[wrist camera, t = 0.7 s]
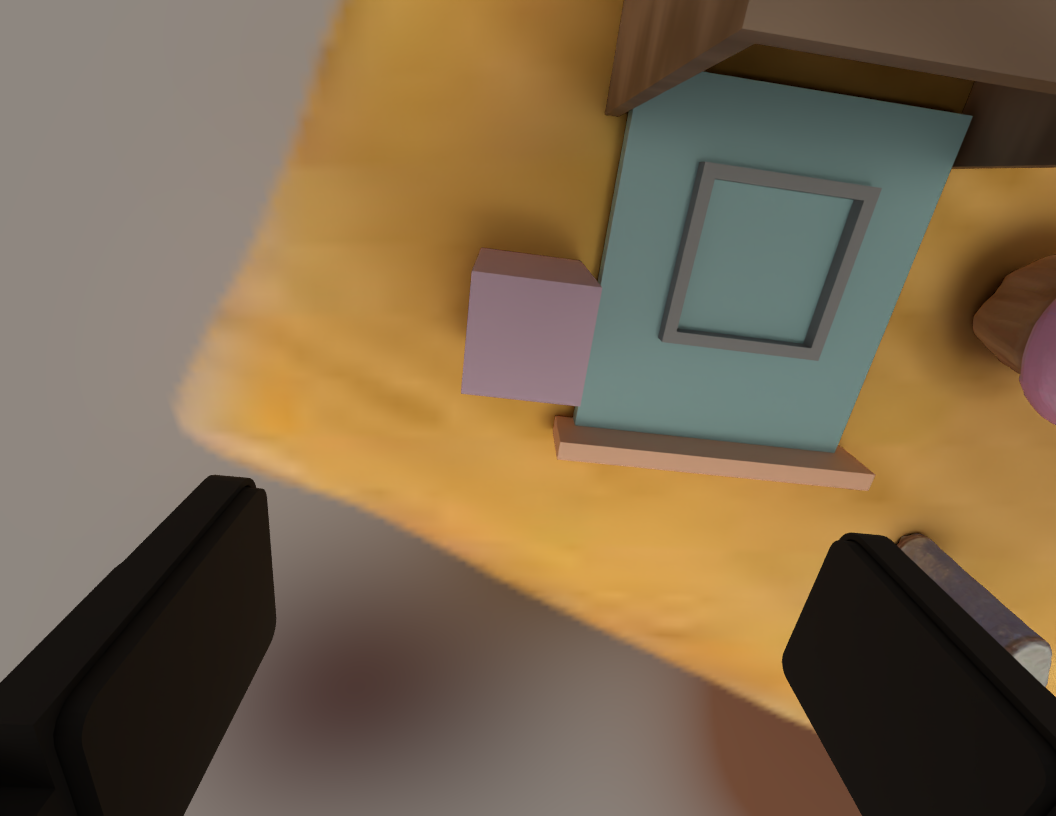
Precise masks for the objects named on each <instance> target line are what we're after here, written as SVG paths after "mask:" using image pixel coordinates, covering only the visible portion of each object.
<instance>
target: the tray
mask: <svg viewBox="0 0 1056 816" xmlns="http://www.w3.org/2000/svg"><path fill="white" fill-rule="evenodd" d="M972 117H973V116H971V115H964V114H958V113H952V112H946V111H940V110H934V109H928V108H922V107H916V106H910V105H904V104H897V103H891V102H885V101H879V100H873V99H867V98H861V97H855V96H849V95H843V94H837V93H830V92H824V91H818V90H812V89H806V88H800V87H794V86H788V85H782V84H776V83H770V82H763V81H757V80H751V79H745V78H739V77H733V76H727V75H721V74H715V73H709V72H701V73H699V74H697V75H695V76H693V77H691V78H690V79H688V80H686V81H684V82H682V83H680V84H678V85H677V86H675V87H673V88H671V89H669V90H667V91H665V92H663V93H662V94H660V95H658V96H656V97H654V98H652V99H650V100H648V101H647V102H645V103H643V104H641V105H639V106H637V107H635V108H633V109H632V110H630V111H629V112H628V118H627V123H626V129H625V134H624V140H623V145H622V151H621V156H620V162H619V167H618V173H617V178H616V184H615V189H614V195H613V200H612V206H611V211H610V217H609V222H608V228H607V233H606V239H605V244H604V250H603V255H602V261H601V266H600V272H599V277H598V283H599V284H600V285H601V287H602V292H601V298H600V303H599V308H598V314H597V319H596V325H595V330H594V335H593V341H592V346H591V351H590V357H589V362H588V367H587V373H586V378H585V384H584V389H583V394H582V400H581V405H580V406H575V409H574V414H573V418H572V417H562V416H555V421H554V427H553V436H554V443H555V449H556V455H557V459H560V460H569V461H579V462H589V463H599V464H609V465H619V466H629V467H639V468H648V469H658V470H668V471H678V472H688V473H698V474H708V475H718V476H727V477H737V478H747V479H757V480H767V481H777V482H787V483H797V484H806V485H816V486H826V487H836V488H846V489H856V490H866V491H868V490H869V488H870V486H871V484H872V481H873V479H874V477H875V474H874V473H873V472H871V471H870V470H869V469H868V468H867V467H865V466H864V465H863V464H862V463H860V462H859V461H858V460H857V459H856V458H854V457H853V456H852V455H851V454H850V453H848V452H847V451H846V450H845V449H843V448H842V447H840V446H838V444H839V441H840V439H841V436H842V434H843V431H844V429H845V427H846V424H847V422H848V419H849V417H850V414H851V412H852V409H853V407H854V405H855V402H856V400H857V397H858V395H859V392H860V390H861V388H862V385H863V383H864V380H865V378H866V375H867V373H868V371H869V368H870V366H871V363H872V361H873V358H874V356H875V353H876V351H877V349H878V346H879V344H880V341H881V339H882V336H883V334H884V332H885V329H886V327H887V324H888V322H889V319H890V317H891V315H892V312H893V310H894V307H895V305H896V302H897V300H898V297H899V295H900V293H901V290H902V288H903V285H904V283H905V280H906V278H907V276H908V273H909V271H910V268H911V266H912V263H913V261H914V259H915V256H916V254H917V251H918V249H919V246H920V244H921V241H922V239H923V237H924V234H925V232H926V229H927V227H928V224H929V222H930V220H931V217H932V215H933V212H934V210H935V207H936V205H937V203H938V200H939V198H940V195H941V193H942V190H943V188H944V186H945V183H946V181H947V178H948V176H949V173H950V171H951V168H952V166H953V164H954V161H955V159H956V156H957V154H958V151H959V149H960V147H961V144H962V142H963V139H964V137H965V134H966V132H967V130H968V127H969V125H970V122H971V120H972Z"/></svg>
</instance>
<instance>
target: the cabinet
mask: <svg viewBox="0 0 1056 816" xmlns="http://www.w3.org/2000/svg"><path fill="white" fill-rule="evenodd" d="M753 44H761V45H767V46H773V47H778V48H784V49H790V50H796V51H802V52H808V53H814V54H820V55H826V56H831V57H837V58H843V59H849V60H855V61H861V62H867V63H873V64H878V65H884V66H890V67H896V68H902V69H908V70H914V71H920V72H926V73H931V74H937V75H943V76H949V77H955V78H961V79H967V80H973V81H975V83H974V85H973V88H972V90H971V93H970V95H969V98H968V100H967V103H966V105H965V108H964V110H963V113H962V114H964V115H971V116H973V117H972V120H971V122H970V125H969V127H968V130H967V132H966V134H965V137H964V139H963V142H962V144H961V147H960V149H959V151H958V154H957V156H956V159H955V161H954V164H953V166H952V168H951V169H970V168H1051V167H1056V0H624V3H623V9H622V15H621V21H620V27H619V33H618V39H617V45H616V51H615V57H614V63H613V69H612V75H611V81H610V87H609V93H608V99H607V105H606V111H605V115H609V116H615V117H619V116H620V115H622V114H624V113H626V112H628V111H630V110H632V109H633V108H635V107H637V106H639V105H641V104H643V103H645V102H647V101H648V100H650V99H652V98H654V97H656V96H658V95H660V94H662V93H663V92H665V91H667V90H669V89H671V88H673V87H675V86H677V85H678V84H680V83H682V82H684V81H686V80H688V79H690V78H691V77H693V76H695V75H697V74H699V73H701V72H703V71H705V70H706V69H708V68H710V67H712V66H714V65H716V64H718V63H720V62H721V61H723V60H725V59H727V58H729V57H731V56H733V55H735V54H736V53H738V52H740V51H742V50H744V49H746V48H748V47H750V46H751V45H753Z"/></svg>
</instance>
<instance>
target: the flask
mask: <svg viewBox="0 0 1056 816" xmlns="http://www.w3.org/2000/svg"><path fill="white" fill-rule="evenodd" d="M918 535H921V534H917V533H916V534H914V535H913V534H912V535H911V536H910V535H909V536H902V537H901V539H900V542H899V543H898V544H897V546H898V547H899V548H900V549H901V550H902V551H903V552H904V553H905V554H906V555H907V556H908V557H909V558H910V559H911V560H913V561H914V562H915V563H916V564H917V565H918V566H919V567H920V568H921V569H922V570H923V571H924V572H925V573H926V574H927V575H928V576H929V577H930V578H931V579H932V580H933V581H935V582H936V583H937V584H938V585H939V586H940V587H941V588H942V589H943V590H944V591H945V592H946V593H947V594H948V595H949V596H950V597H951V598H952V599H953V600H954V601H955V602H956V603H958V604H959V605H960V606H961V607H962V608H963V609H964V610H965V611H966V612H967V613H968V614H969V615H970V616H971V617H972V618H973V619H974V620H975V621H976V622H977V623H978V624H980V625H981V626H982V627H983V628H984V629H985V630H986V631H987V632H988V633H989V634H990V635H991V636H992V637H993V638H994V639H995V640H996V641H997V642H998V643H999V644H1000V645H1001V646H1003V647H1004V648H1005V649H1006V650H1007V651H1008V652H1009V653H1010V654H1011V655H1012V656H1013V657H1014V658H1015V659H1016V660H1017V661H1018V662H1019V663H1020V664H1021V665H1022V666H1023V667H1025V668H1026V669H1027V670H1028V671H1029V672H1030V673H1031V674H1032V675H1033V676H1034V677H1035V678H1036V679H1037V680H1038V681H1039V682H1040V683H1041V684H1042V685H1043V686H1044V687H1046V685H1047V683H1048V675H1049V669H1050V666H1051V656H1052V651H1051V647H1050V645H1049V643H1047V642H1046V641H1045V640H1044V639H1043V638H1042V637H1040V636H1039V635H1038V634H1037V633H1035V632H1034V631H1033V630H1032V629H1030V628H1029V627H1028V626H1027V625H1026V624H1025V623H1024V622H1023V621H1022V620H1020V619H1019V618H1018V617H1017V616H1016V615H1015V614H1014V613H1012V612H1011V611H1010V610H1009V609H1008V608H1006V607H1005V606H1004V605H1003V604H1002V603H1001V602H1000V601H999V600H998V599H996V598H995V597H994V596H993V595H992V594H991V593H990V592H989V591H988V590H986V589H985V588H984V587H983V586H982V585H981V584H980V583H978V582H977V581H976V580H975V579H974V578H972V577H971V576H970V575H969V574H968V573H967V572H966V571H964V570H963V569H962V568H961V567H960V566H959V565H958V564H957V563H956V562H955V561H954V560H953V559H952V558H951V557H949V556H948V555H947V554H946V553H945V552H944V551H942V550H941V549H940V548H939V547H938V546H937V545H936V544H935V543H934V542H933V541H932V540H931V539H929V538H928V537H926V536H924V535H921V536H918ZM923 536H924V537H923Z"/></svg>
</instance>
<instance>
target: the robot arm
mask: <svg viewBox="0 0 1056 816" xmlns="http://www.w3.org/2000/svg"><path fill="white" fill-rule="evenodd" d="M273 583H274V582H273V570H272V556H271V544H270V531H269V518H268V506H267V496H266V492H265V490H264V489H259V488H256V485H255V483H254V481H253V480H252V479H251V478H244V477H233V476H220V475H210V476H208V477H207V478H206V479H205V480H204V481H203V482H202V483H201V484H200V485H199V486H198V487H197V488H196V489H195V490H194V491H193V492H192V493H191V494H190V495H189V496H188V497H187V498H186V499H185V500H184V501H183V502H182V503H181V504H180V505H179V506H178V507H177V508H176V509H175V510H174V511H173V512H172V513H171V514H170V515H169V516H168V517H167V518H166V519H165V520H164V521H163V522H162V523H161V524H160V525H159V526H158V527H157V528H156V529H155V530H154V531H153V532H152V533H151V534H150V535H149V536H148V537H147V538H146V539H145V540H144V541H143V542H142V543H141V544H140V545H139V546H138V547H137V548H136V549H135V550H134V551H133V552H132V553H131V554H130V555H129V556H128V557H127V559H125V560H124V561H123V562H122V563H121V564H119V565H118V566H117V567H116V568H114V569H113V570H112V571H111V572H110V573H109V574H108V575H107V577H105V578H104V579H103V580H102V581H101V582H100V583H99V584H98V585H97V587H95V588H94V590H92V592H90V593H89V594H88V595H87V597H85V598H84V599H83V600H82V601H81V602H80V603H79V604H78V605H77V606H76V607H75V608H74V609H73V611H71V612H70V613H69V614H68V615H67V616H66V617H65V618H64V619H63V620H62V621H61V622H60V623H59V624H58V625H57V626H56V628H55V629H54V630H53V631H51V632H50V633H49V634H48V635H47V636H46V637H45V638H44V640H43V641H42V642H41V643H39V644H38V646H36V647H35V648H34V650H33V651H31V652H30V653H29V654H28V655H27V656H26V657H25V659H24V660H23V661H22V662H21V663H20V664H19V665H18V666H17V667H16V668H15V669H14V670H13V671H12V672H11V673H10V674H9V675H8V676H7V677H6V678H5V679H4V680H3V681H2V682H1V683H0V816H184V814H185V812H186V809H187V808H188V806H189V804H190V802H191V800H192V798H193V796H194V794H195V792H196V790H197V788H198V786H199V784H200V782H201V780H202V778H203V776H204V774H205V772H206V770H207V768H208V766H209V764H210V762H211V760H212V758H213V756H214V754H215V752H216V750H217V748H218V746H219V744H220V742H221V740H222V738H223V736H224V734H225V733H226V731H227V729H228V727H229V725H230V723H231V721H232V719H233V716H234V715H235V713H236V711H237V709H238V707H239V705H240V703H241V700H242V699H243V697H244V695H245V693H246V691H247V689H248V687H249V685H250V683H251V681H252V679H253V677H254V675H255V673H256V671H257V669H258V667H259V665H260V663H261V661H262V659H263V657H264V655H265V653H266V651H267V649H268V647H269V645H270V643H271V641H272V638H273V635H274V631H275V627H276V608H275V596H274V584H273ZM782 665H783V671H784V674H785V676H786V679H787V680H788V682H789V684H790V686H791V688H792V689H793V691H794V693H795V695H796V697H797V699H798V700H799V702H800V704H801V706H802V708H803V709H804V711H805V713H806V715H807V717H808V718H809V720H810V722H811V724H812V726H813V728H814V729H815V731H816V733H817V735H818V737H819V738H820V740H821V742H822V744H823V746H824V747H825V749H826V751H827V753H828V755H829V756H830V758H831V760H832V762H833V764H834V765H835V767H836V769H837V771H838V773H839V775H840V776H841V778H842V780H843V782H844V784H845V785H846V787H847V789H848V791H849V793H850V794H851V796H852V798H853V800H854V801H855V804H856V805H857V807H858V809H859V811H860V813H861V814H862V816H1056V697H1055V696H1054V695H1053V694H1052V693H1051V692H1050V691H1049V690H1048V689H1046V688H1045V687H1044V686H1043V685H1042V684H1041V683H1040V682H1039V681H1038V680H1037V679H1036V678H1035V677H1034V676H1033V675H1032V674H1031V673H1030V672H1029V671H1028V670H1027V669H1026V668H1025V667H1023V666H1022V665H1021V664H1020V663H1019V662H1018V661H1017V660H1016V659H1015V658H1014V657H1013V656H1012V655H1011V654H1010V653H1009V652H1008V651H1007V650H1006V649H1005V648H1004V647H1003V646H1001V645H1000V644H999V643H998V642H997V641H996V640H995V639H994V638H993V637H992V636H991V635H990V634H989V633H988V632H987V631H986V630H985V629H984V628H983V627H982V626H981V625H980V624H978V623H977V622H976V621H975V620H974V619H973V618H972V617H971V616H970V615H969V614H968V613H967V612H966V611H965V610H964V609H963V608H962V607H961V606H960V605H959V604H958V603H956V602H955V601H954V600H953V599H952V598H951V597H950V596H949V595H948V594H947V593H946V592H945V591H944V590H943V589H942V588H941V587H940V586H939V585H938V584H937V583H936V582H935V581H933V580H932V579H931V578H930V577H929V576H928V575H927V574H926V573H925V572H924V571H923V570H922V569H921V568H920V567H919V566H918V565H917V564H916V563H915V562H914V561H913V560H911V559H910V558H909V557H908V556H907V555H906V554H905V553H904V552H903V551H902V550H901V549H900V548H899V547H898V546H897V545H896V544H895V543H894V542H893V541H892V540H890V539H889V538H887V537H885V536H881V535H872V534H861V533H847V534H845V535H843V536H842V537H841V538H840V540H838V541H835V542H834V543H833V544H832V545H831V547H830V549H829V551H828V553H827V556H826V558H825V560H824V562H823V565H822V567H821V569H820V571H819V574H818V576H817V578H816V580H815V583H814V585H813V587H812V590H811V592H810V594H809V596H808V599H807V601H806V603H805V605H804V608H803V610H802V612H801V614H800V617H799V619H798V621H797V623H796V626H795V628H794V630H793V633H792V635H791V637H790V639H789V642H788V644H787V646H786V648H785V651H784V653H783V657H782Z"/></svg>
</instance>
